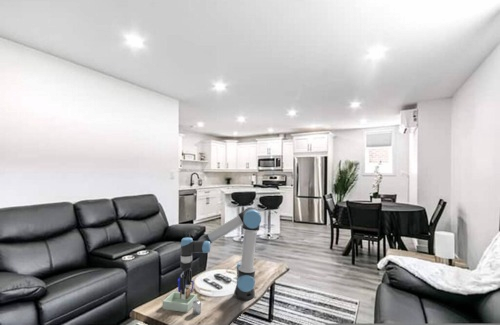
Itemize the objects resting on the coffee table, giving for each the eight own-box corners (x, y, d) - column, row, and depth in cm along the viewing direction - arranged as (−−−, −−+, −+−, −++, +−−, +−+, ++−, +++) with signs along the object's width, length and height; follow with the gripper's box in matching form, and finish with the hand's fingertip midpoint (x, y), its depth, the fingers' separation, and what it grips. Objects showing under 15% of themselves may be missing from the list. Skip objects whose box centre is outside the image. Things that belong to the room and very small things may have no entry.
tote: (197, 302, 180) (197, 294, 181) (187, 312, 167) (187, 304, 167) (173, 298, 185) (173, 291, 185) (162, 308, 171) (162, 301, 171)
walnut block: (190, 295, 177) (190, 288, 177) (186, 299, 172) (187, 291, 172) (183, 294, 178) (183, 287, 178) (179, 298, 173) (180, 290, 173)
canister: (202, 311, 168) (202, 300, 168) (198, 315, 163) (198, 304, 164) (195, 310, 169) (195, 299, 170) (191, 314, 165) (191, 303, 165)
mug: (190, 296, 188) (191, 282, 189) (175, 294, 191) (175, 280, 191) (195, 291, 196) (195, 277, 197) (180, 289, 199) (180, 276, 199)
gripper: (187, 256, 186) (186, 290, 185) (174, 265, 168) (173, 302, 167) (197, 257, 184) (196, 291, 183) (185, 266, 166) (184, 303, 165)
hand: (185, 296), depth 175 cm, fingers closed on walnut block, 5 cm apart
